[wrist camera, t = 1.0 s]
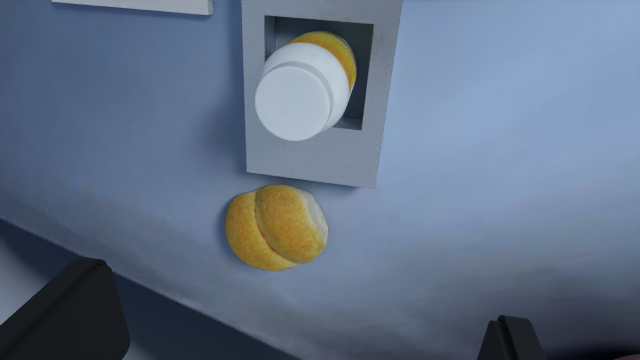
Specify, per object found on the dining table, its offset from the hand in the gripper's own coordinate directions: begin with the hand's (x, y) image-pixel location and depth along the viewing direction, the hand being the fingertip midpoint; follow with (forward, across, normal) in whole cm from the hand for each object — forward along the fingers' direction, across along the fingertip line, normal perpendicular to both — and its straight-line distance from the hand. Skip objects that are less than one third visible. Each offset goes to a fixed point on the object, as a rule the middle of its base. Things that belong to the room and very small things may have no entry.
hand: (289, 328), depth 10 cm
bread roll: (+23, +6, +12) cm, 26 cm away
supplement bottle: (+22, +3, -2) cm, 22 cm away
